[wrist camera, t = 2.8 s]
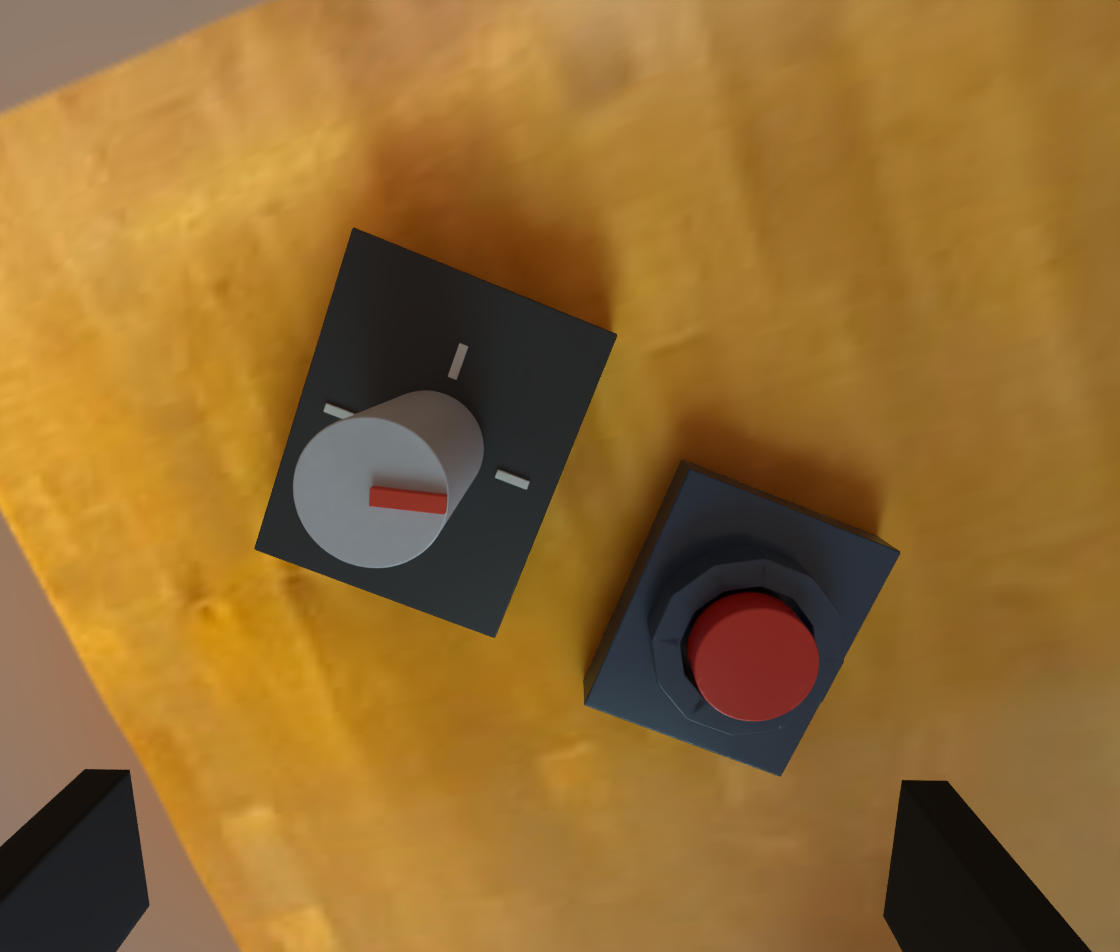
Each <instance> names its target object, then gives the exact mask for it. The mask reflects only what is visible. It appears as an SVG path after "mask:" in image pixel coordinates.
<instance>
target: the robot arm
mask: <svg viewBox="0 0 1120 952" xmlns="http://www.w3.org/2000/svg"><path fill="white" fill-rule="evenodd" d="M148 907H149V899H148V893H147V886H146V879H145V871H144V865H143V859H142V851H141V844H140V837H139V831H138V824H137V817H136V810H135V803H134V796H133V789H132V783H131V776H130V770H104V769H103V770H101V769H85V770H83V771H82V772H81V773H80V774H79V775H78V776H77V777H76V778H75V779H74V780H73V781H72V782H70V783H69V784H68V785H67V786H66V787H65V788H64V789H63V790H62V791H61V792H59V794H57V795H56V796H55V797H54V798H53V799H52V800H51V801H50V802H49V803H48V804H46V805H45V806H44V807H43V808H42V809H41V810H40V811H39V812H38V813H37V814H36V815H35V816H34V817H33V818H31V819H30V820H29V821H28V822H27V823H26V824H25V825H24V826H22V827H21V828H20V829H19V830H18V831H17V832H16V833H15V834H14V835H13V836H12V837H11V838H10V839H8V840H7V841H6V842H5V843H4V844H3V845H2V846H1V847H0V952H116V951H117V950H118V948H119V947H120V946H121V944H122V943H123V941H124V940H125V939H126V937H127V936H128V934H129V933H130V932H131V930H132V929H133V928H134V926H135V925H136V923H137V922H138V920H139V919H140V918H141V916H142V915H143V914H144V912H145V911H146V909H147V908H148ZM883 916H884V918H885V920H886V922H887V924H888V926H889V928H890V929H891V931H892V933H893V935H894V937H895V939H896V940H897V942H898V944H899V946H900V948H901V950H902V952H1091V950H1090V949H1089V948H1088V947H1087V946H1086V944H1085V943H1084V942H1083V941H1082V940H1081V938H1080V937H1079V936H1078V935H1077V934H1076V933H1075V931H1074V930H1073V929H1072V928H1071V927H1070V925H1069V924H1068V923H1067V922H1066V921H1065V920H1064V918H1063V917H1062V916H1061V915H1060V914H1059V912H1058V911H1057V910H1056V909H1055V908H1054V907H1053V905H1052V904H1051V903H1050V902H1049V901H1048V899H1047V898H1046V897H1045V896H1044V895H1043V894H1042V892H1041V891H1040V890H1039V889H1038V888H1037V886H1036V885H1035V884H1034V883H1033V882H1032V881H1031V879H1030V878H1029V877H1028V876H1027V875H1026V873H1025V872H1024V871H1023V870H1022V869H1021V868H1020V866H1019V865H1018V864H1017V863H1016V862H1015V860H1014V859H1013V858H1012V857H1011V856H1010V855H1009V853H1008V852H1007V851H1006V850H1005V849H1004V847H1003V846H1002V845H1001V844H1000V843H999V842H998V840H997V839H996V838H995V837H994V836H993V834H992V833H991V832H990V831H989V830H988V829H987V827H986V826H985V825H984V824H983V823H982V821H981V820H980V819H979V818H978V817H977V815H976V814H975V813H974V812H973V811H972V810H971V808H970V807H969V806H968V805H967V804H966V802H965V801H964V800H963V799H962V798H961V797H960V795H959V794H958V793H957V792H956V791H955V789H954V788H953V787H952V786H951V785H950V784H949V782H948V781H920V780H902V783H901V790H900V798H899V805H898V812H897V820H896V827H895V834H894V841H893V849H892V856H891V863H890V871H889V878H888V885H887V892H886V900H885V907H884V914H883Z"/></svg>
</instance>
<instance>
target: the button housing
mask: <svg viewBox="0 0 1120 952" xmlns="http://www.w3.org/2000/svg"><path fill="white" fill-rule="evenodd" d="M899 555H900V551H899V550H897V549H896V548H894V547H893V546H891V545H890V544H888V543H887V542H885V541H884V540H882V539H881V538H880V537H878V536H875V535H873V534H870V533H868V532H865V531H863V530H860V529H858V528H855V527H853V526H850V525H848V524H845V523H843V522H840V521H837V520H835V519H832V518H830V517H827V516H825V515H822V514H820V513H817V512H815V511H812V510H810V509H807V508H805V507H802V506H799V505H797V504H794V503H792V502H789V501H787V500H784V499H782V498H779V497H777V496H774V495H772V494H769V493H767V492H764V491H761V490H759V489H756V488H754V487H751V486H749V485H746V484H744V483H741V482H739V481H736V480H734V479H731V478H729V477H726V476H723V475H721V474H718V473H716V472H713V471H711V470H708V469H706V468H703V467H701V466H698V465H696V464H693V463H691V462H688V461H685V460H681V461H680V464H679V466H678V468H677V470H676V473H675V475H674V477H673V479H672V482H671V484H670V486H669V488H668V491H667V493H666V495H665V497H664V500H663V502H662V504H661V507H660V509H659V511H658V513H657V516H656V518H655V520H654V522H653V525H652V527H651V529H650V531H649V534H648V536H647V538H646V540H645V543H644V545H643V547H642V549H641V552H640V554H639V556H638V558H637V561H636V563H635V565H634V567H633V570H632V572H631V574H630V576H629V579H628V581H627V583H626V586H625V588H624V590H623V592H622V595H621V597H620V599H619V601H618V604H617V606H616V608H615V610H614V613H613V615H612V617H611V619H610V622H609V624H608V626H607V628H606V631H605V633H604V635H603V637H602V640H601V642H600V644H599V646H598V649H597V651H596V653H595V655H594V658H593V660H592V662H591V664H590V667H589V669H588V671H587V674H586V676H585V678H584V680H583V683H584V705H585V706H588V707H591V708H594V709H596V710H599V711H602V712H604V713H607V714H610V715H613V716H615V717H618V718H621V719H624V720H626V721H629V722H632V723H635V724H637V725H640V726H643V727H646V728H648V729H651V730H654V731H656V732H659V733H662V734H665V735H667V736H670V737H673V738H676V739H678V740H681V741H684V742H687V743H689V744H692V745H695V746H698V747H700V748H703V749H706V750H709V751H711V752H714V753H717V754H719V755H722V756H725V757H728V758H730V759H733V760H736V761H739V762H741V763H744V764H747V765H750V766H752V767H755V768H758V769H761V770H763V771H766V772H769V773H771V774H774V775H777V776H781V775H782V773H783V772H784V770H785V768H786V766H787V764H788V762H789V760H790V758H791V757H792V755H793V753H794V751H795V749H796V747H797V745H798V744H799V742H800V740H801V738H802V736H803V734H804V732H805V730H806V729H807V727H808V725H809V723H810V721H811V719H812V717H813V716H814V714H815V712H816V710H817V708H818V706H819V704H820V703H821V702H822V701H823V699H824V698H825V696H826V694H827V692H828V690H829V688H830V686H831V684H832V683H833V681H834V679H835V677H836V675H837V673H838V671H839V670H840V668H841V666H842V664H843V662H844V661H843V660H844V658H845V656H846V654H847V652H848V650H849V648H850V646H851V645H852V643H853V641H854V639H855V637H856V635H857V633H858V631H859V630H860V628H861V626H862V624H863V622H864V620H865V618H866V616H867V615H868V613H869V611H870V609H871V607H872V605H873V603H874V602H875V600H876V598H877V596H878V594H879V592H880V590H881V588H882V587H883V585H884V583H885V581H886V579H887V577H888V575H889V574H890V572H891V570H892V568H893V566H894V564H895V562H896V560H897V559H898V557H899ZM740 592H759V593H764V594H768V595H771V596H773V597H775V598H778V599H780V600H781V601H783V602H784V603H786V604H787V605H788V606H789V607H790V608H791V609H792V610H793V611H794V612H795V613H796V614H797V616H798V617H799V618H800V620H801V621H802V622H803V623H804V625H805V626H806V627H807V628H808V630H809V631H810V633H811V634H812V636H813V638H814V640H815V642H816V645H817V648H818V653H819V669H818V675H817V678H816V681H815V683H814V685H813V688H812V689H811V691H810V692H809V694H808V695H807V696H806V698H805V699H804V700H803V701H802V702H801V703H800V704H799V705H798V706H796V707H795V708H794V709H792V710H791V711H789V712H787V713H786V714H784V715H781V716H779V717H777V718H773V719H770V720H765V721H743V720H738V719H734V718H731V717H729V716H726V715H724V714H722V713H721V712H719V711H717V710H716V709H715V708H713V707H712V706H711V705H710V704H709V703H708V702H707V701H706V700H705V698H704V697H703V696H702V694H701V692H700V690H699V689H698V686H697V683H696V681H695V678H694V675H693V672H692V669H691V666H690V663H689V660H688V654H687V645H688V638H689V634H690V631H691V629H692V626H693V624H694V623H695V621H696V619H697V618H698V617H699V615H700V614H701V613H702V612H703V611H704V610H705V609H706V608H707V607H708V606H709V605H711V604H712V603H714V602H715V601H717V600H718V599H721V598H723V597H725V596H728V595H731V594H735V593H740Z"/></svg>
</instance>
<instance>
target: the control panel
mask: <svg viewBox="0 0 1120 952" xmlns="http://www.w3.org/2000/svg"><path fill="white" fill-rule="evenodd" d="M616 337H617V334H616V333H613V332H611V331H608V330H606V329H603V328H601V327H598V326H596V325H593V324H591V323H588V322H586V321H583V320H581V319H579V318H576V317H574V316H571V315H569V314H566V313H564V312H561V311H559V310H556V309H554V308H551V307H549V306H546V305H544V304H542V303H539V302H537V301H534V300H532V299H529V298H527V297H524V296H522V295H519V294H517V293H514V292H512V291H509V290H507V289H505V288H502V287H500V286H497V285H495V284H492V283H490V282H487V281H485V280H482V279H480V278H477V277H475V276H472V275H470V274H467V273H465V272H463V271H460V270H458V269H455V268H453V267H450V266H448V265H445V264H443V263H440V262H438V261H435V260H433V259H430V258H428V257H426V256H423V255H421V254H418V253H416V252H413V251H411V250H408V249H406V248H403V247H401V246H398V245H396V244H393V243H391V242H388V241H386V240H384V239H381V238H379V237H376V236H374V235H371V234H369V233H366V232H364V231H361V230H359V229H356V228H353V229H352V232H351V235H350V238H349V241H348V245H347V248H346V251H345V254H344V258H343V261H342V264H341V267H340V271H339V274H338V277H337V280H336V284H335V287H334V290H333V294H332V297H331V300H330V303H329V307H328V310H327V313H326V316H325V320H324V323H323V326H322V329H321V333H320V336H319V339H318V342H317V346H316V349H315V352H314V356H313V359H312V362H311V365H310V369H309V372H308V375H307V378H306V382H305V385H304V388H303V391H302V395H301V398H300V401H299V405H298V408H297V411H296V414H295V418H294V421H293V424H292V427H291V431H290V434H289V437H288V440H287V444H286V447H285V450H284V453H283V457H282V460H281V463H280V467H279V470H278V473H277V476H276V480H275V483H274V486H273V489H272V493H271V496H270V499H269V502H268V506H267V509H266V512H265V515H264V519H263V522H262V525H261V529H260V532H259V535H258V538H257V542H256V545H255V550H257V551H260V552H263V553H265V554H268V555H271V556H273V557H276V558H279V559H282V560H284V561H287V562H290V563H292V564H295V565H298V566H301V567H303V568H306V569H309V570H311V571H314V572H317V573H320V574H322V575H325V576H328V577H330V578H333V579H336V580H338V581H341V582H344V583H347V584H349V585H352V586H355V587H357V588H360V589H363V590H366V591H368V592H371V593H374V594H376V595H379V596H382V597H385V598H387V599H390V600H393V601H395V602H398V603H401V604H404V605H406V606H409V607H412V608H414V609H417V610H420V611H423V612H425V613H428V614H431V615H433V616H436V617H439V618H442V619H444V620H447V621H450V622H452V623H455V624H458V625H461V626H463V627H466V628H469V629H471V630H474V631H477V632H480V633H482V634H485V635H488V636H490V637H493V638H495V637H496V634H497V632H498V629H499V627H500V624H501V622H502V619H503V617H504V615H505V612H506V610H507V607H508V605H509V602H510V600H511V597H512V595H513V592H514V590H515V587H516V585H517V582H518V580H519V577H520V575H521V572H522V570H523V568H524V565H525V563H526V560H527V558H528V555H529V553H530V550H531V548H532V545H533V543H534V540H535V538H536V535H537V533H538V530H539V528H540V525H541V523H542V520H543V518H544V516H545V513H546V511H547V508H548V506H549V503H550V501H551V498H552V496H553V493H554V491H555V488H556V486H557V483H558V481H559V478H560V476H561V473H562V471H563V469H564V466H565V464H566V461H567V459H568V456H569V454H570V451H571V449H572V446H573V444H574V441H575V439H576V436H577V434H578V431H579V429H580V426H581V424H582V421H583V419H584V417H585V414H586V412H587V409H588V407H589V404H590V402H591V399H592V397H593V394H594V392H595V389H596V387H597V384H598V382H599V379H600V377H601V374H602V372H603V370H604V367H605V365H606V362H607V360H608V357H609V355H610V352H611V350H612V347H613V345H614V342H615V340H616ZM423 390H426V391H435V392H440V393H443V394H446V395H448V396H451V397H453V398H454V399H456V400H458V401H459V402H460V403H462V404H463V405H464V406H465V407H466V408H467V409H468V410H469V411H470V412H471V413H472V415H473V416H474V418H475V419H476V421H477V423H478V425H479V427H480V430H481V433H482V437H483V443H484V454H483V460H482V464H481V467H480V469H479V472H478V474H477V475H476V477H475V479H474V480H473V482H472V483H471V485H470V486H469V488H468V489H467V491H466V493H465V494H464V496H463V497H462V499H461V500H460V502H459V504H458V505H457V507H456V508H455V510H454V511H453V513H452V514H451V516H450V518H449V519H448V521H447V522H446V524H445V525H444V527H443V528H442V530H441V532H440V533H439V535H438V536H437V538H436V539H435V540H434V542H433V543H432V544H431V545H430V546H429V547H428V548H427V549H426V550H425V551H424V552H423V553H421V554H420V555H418V556H417V557H415V558H413V559H411V560H409V561H407V562H405V563H402V564H399V565H396V566H391V567H385V568H367V567H361V566H356V565H353V564H350V563H347V562H344V561H342V560H340V559H338V558H336V557H334V556H333V555H331V554H329V553H328V552H327V551H325V550H324V549H323V548H321V547H320V546H319V545H318V544H317V543H316V542H315V541H314V540H313V538H312V537H311V536H310V535H309V533H308V532H307V531H306V529H305V527H304V526H303V524H302V522H301V520H300V518H299V515H298V513H297V509H296V506H295V501H294V496H293V480H294V473H295V469H296V465H297V462H298V460H299V457H300V455H301V453H302V452H303V450H304V448H305V447H306V445H307V444H308V443H309V441H310V440H311V439H312V438H313V437H314V436H315V435H316V434H317V433H318V432H320V431H321V430H323V429H324V428H325V427H327V426H329V425H331V424H333V423H335V422H337V421H339V420H342V419H344V418H347V417H349V416H352V415H354V414H357V413H359V412H362V411H364V410H367V409H369V408H372V407H374V406H377V405H379V404H382V403H384V402H387V401H389V400H392V399H394V398H397V397H399V396H402V395H404V394H407V393H410V392H415V391H423Z"/></svg>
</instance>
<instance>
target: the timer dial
mask: <svg viewBox="0 0 1120 952" xmlns="http://www.w3.org/2000/svg"><path fill="white" fill-rule="evenodd" d="M483 454H484V443H483V437H482V433H481V430H480V427H479V425H478V423H477V421H476V419H475V418H474V416H473V415H472V413H471V412H470V411H469V410H468V409H467V408H466V407H465V406H464V405H463V404H462V403H460V402H459V401H458V400H456V399H454V398H453V397H451V396H448V395H446V394H443V393H440V392H435V391H426V390H423V391H415V392H410V393H407V394H404V395H402V396H399V397H397V398H394V399H392V400H389V401H387V402H384V403H382V404H379V405H377V406H374V407H372V408H369V409H367V410H364V411H362V412H359V413H357V414H354V415H352V416H349V417H347V418H344V419H342V420H339V421H337V422H335V423H333V424H331V425H329V426H327V427H325V428H324V429H323V430H321V431H320V432H318V433H317V434H316V435H315V436H314V437H313V438H312V439H311V440H310V441H309V443H308V444H307V445H306V447H305V448H304V450H303V452H302V453H301V455H300V457H299V460H298V462H297V465H296V469H295V473H294V480H293V496H294V501H295V506H296V509H297V513H298V515H299V518H300V520H301V522H302V524H303V526H304V527H305V529H306V531H307V532H308V533H309V535H310V536H311V537H312V538H313V540H314V541H315V542H316V543H317V544H318V545H319V546H320V547H321V548H323V549H324V550H325V551H327V552H328V553H329V554H331V555H333V556H334V557H336V558H338V559H340V560H342V561H344V562H347V563H350V564H353V565H356V566H361V567H367V568H385V567H391V566H396V565H399V564H402V563H405V562H407V561H409V560H411V559H413V558H415V557H417V556H418V555H420V554H421V553H423V552H424V551H425V550H426V549H427V548H428V547H429V546H430V545H431V544H432V543H433V542H434V540H435V539H436V538H437V536H438V535H439V533H440V532H441V530H442V528H443V527H444V525H445V524H446V522H447V521H448V519H449V518H450V516H451V514H452V513H453V511H454V510H455V508H456V507H457V505H458V504H459V502H460V500H461V499H462V497H463V496H464V494H465V493H466V491H467V489H468V488H469V486H470V485H471V483H472V482H473V480H474V479H475V477H476V475H477V474H478V472H479V469H480V467H481V464H482V460H483Z"/></svg>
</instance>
